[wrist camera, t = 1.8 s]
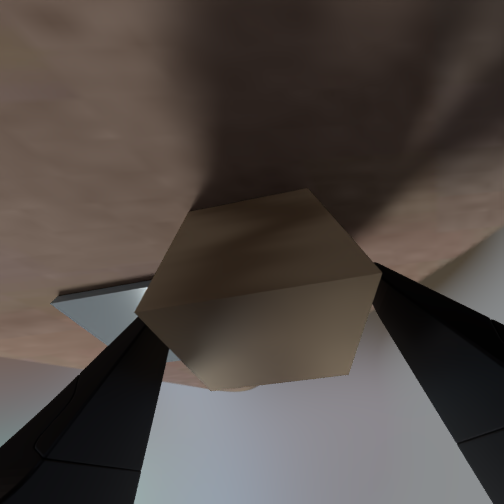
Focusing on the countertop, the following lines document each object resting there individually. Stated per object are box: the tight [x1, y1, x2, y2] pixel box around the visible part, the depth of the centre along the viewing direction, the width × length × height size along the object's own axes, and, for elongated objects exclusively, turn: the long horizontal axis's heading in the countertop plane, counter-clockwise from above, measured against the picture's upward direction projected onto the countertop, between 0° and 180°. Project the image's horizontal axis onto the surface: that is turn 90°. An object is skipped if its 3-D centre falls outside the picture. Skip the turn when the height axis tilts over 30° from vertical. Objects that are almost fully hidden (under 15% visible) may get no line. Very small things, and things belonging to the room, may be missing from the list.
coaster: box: [50, 280, 180, 362], centre depth 15 cm, size 10×10×1 cm
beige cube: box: [134, 188, 382, 391], centre depth 9 cm, size 6×6×6 cm
